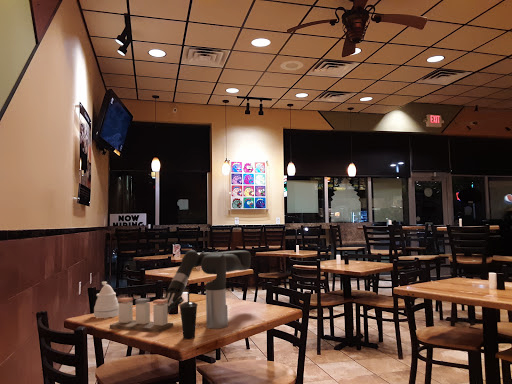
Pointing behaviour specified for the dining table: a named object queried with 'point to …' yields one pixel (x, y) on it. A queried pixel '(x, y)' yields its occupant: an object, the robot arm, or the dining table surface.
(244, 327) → the dining table surface
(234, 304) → the dining table surface
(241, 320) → the dining table surface
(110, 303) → the honey pot
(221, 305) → the robot arm
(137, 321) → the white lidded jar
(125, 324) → the wooden serving board
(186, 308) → the drinking cup
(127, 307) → the white spice jar
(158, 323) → the white lidded canister
